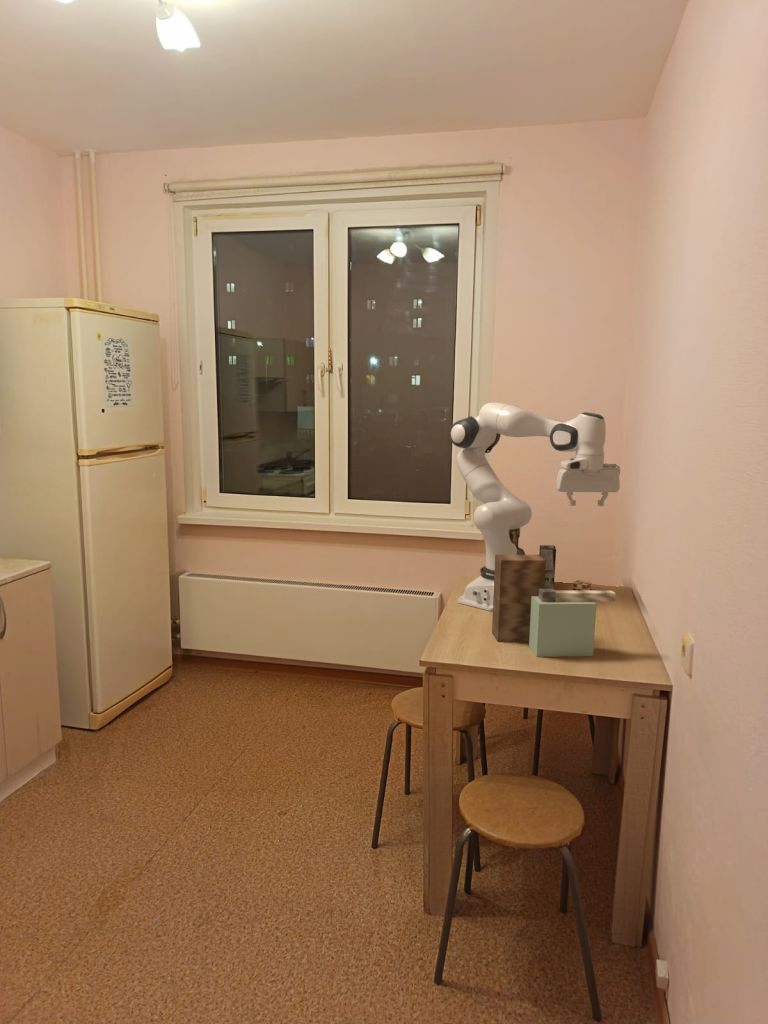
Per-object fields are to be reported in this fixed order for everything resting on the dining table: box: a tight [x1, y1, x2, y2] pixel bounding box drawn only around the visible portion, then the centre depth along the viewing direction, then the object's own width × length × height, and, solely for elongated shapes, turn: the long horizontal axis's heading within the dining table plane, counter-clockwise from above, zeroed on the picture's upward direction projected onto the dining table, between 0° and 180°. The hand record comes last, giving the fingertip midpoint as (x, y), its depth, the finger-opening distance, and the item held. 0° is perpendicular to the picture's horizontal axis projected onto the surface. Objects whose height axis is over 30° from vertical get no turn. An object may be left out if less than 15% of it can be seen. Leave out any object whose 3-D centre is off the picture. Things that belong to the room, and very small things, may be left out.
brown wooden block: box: [491, 554, 546, 643], centre depth 210 cm, size 14×8×26 cm, turn 94°
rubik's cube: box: [571, 579, 592, 591], centre depth 260 cm, size 6×6×6 cm
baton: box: [539, 588, 617, 602], centre depth 197 cm, size 22×4×3 cm, turn 93°
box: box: [528, 596, 597, 658], centre depth 199 cm, size 17×8×16 cm, turn 94°
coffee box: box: [538, 544, 557, 589], centre depth 275 cm, size 9×6×16 cm
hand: (586, 505), depth 217 cm, fingers open, 8 cm apart
